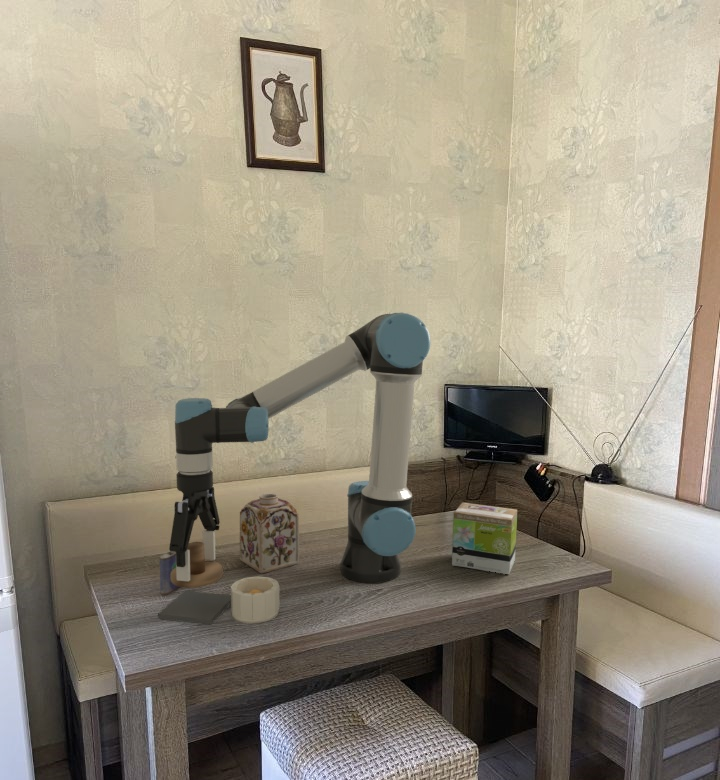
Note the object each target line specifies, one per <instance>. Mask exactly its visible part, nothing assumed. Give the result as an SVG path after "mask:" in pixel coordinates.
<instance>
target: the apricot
mask: <svg viewBox="0 0 720 780" xmlns="http://www.w3.org/2000/svg"><path fill="white" fill-rule="evenodd" d="M249 593H251V594H254V593H262V592H261V591H260V590H252V591H250V592H249Z"/></svg>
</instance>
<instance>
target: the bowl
mask: <svg viewBox="0 0 720 780" xmlns="http://www.w3.org/2000/svg"><path fill="white" fill-rule="evenodd" d="M252 590H260V591H261V592H262V593H254V594H251V593H249V592H250V591H252ZM230 595H231V604H230V610H231V617H232V618H233V620H234V621H236V622H239V623H244V624H251V625H252V624H254V625H255V624H260V623H261V624H262V623H265V622H269V621H271V620H273V619H274V618H276V617H277V616H278V615H279V613H280V611H279V609H280V584H279V581H278V580H276V579H275V578H272V577H267V576H251V577H250V576H247V577H244V578H241V579H238V580H236V581H234V583H232V584H231V586H230Z"/></svg>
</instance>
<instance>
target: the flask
mask: <svg viewBox="0 0 720 780" xmlns="http://www.w3.org/2000/svg"><path fill="white" fill-rule="evenodd" d="M174 568H176V552H175V551H170V550H169V551H168V552H165V553H164V554H162V555H160V556H159V587H160V588H159V594H160V595H162V596H164V597H165V596H166V595H172V594H173V593H175V592H177V591H179V590H181V588H182V587H179V586H176V585H174V584H173V583H172V582H171V576H170V574H171V571H172V570H173V569H174Z"/></svg>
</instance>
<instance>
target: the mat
mask: <svg viewBox="0 0 720 780" xmlns="http://www.w3.org/2000/svg"><path fill="white" fill-rule="evenodd" d="M229 606H231V594H226V593H225V594H224V593H213V592H204V591H194V590H184V591H183V592H182V593H181V594H179V595H178V596H177V597H176V598H175V599H173V601H172V602H170V603H169V604H168V605H167V606H166V607H165V608H163V609H162V610H161V611H159V612H158V619H159V620H169V621H170V620H171V621H177V622H178V621H179V622H188V623H196V624H197V623H198V624H205V625H212V624H213V623H214V622H215V621H216V620H217V619H218V617H219V616H221V614H223V613H224V611H225V610H226V609H228V607H229Z"/></svg>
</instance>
